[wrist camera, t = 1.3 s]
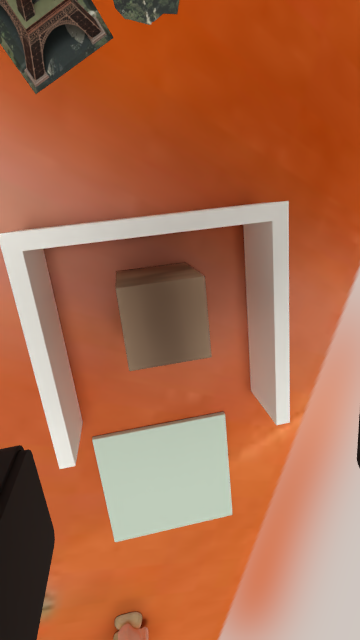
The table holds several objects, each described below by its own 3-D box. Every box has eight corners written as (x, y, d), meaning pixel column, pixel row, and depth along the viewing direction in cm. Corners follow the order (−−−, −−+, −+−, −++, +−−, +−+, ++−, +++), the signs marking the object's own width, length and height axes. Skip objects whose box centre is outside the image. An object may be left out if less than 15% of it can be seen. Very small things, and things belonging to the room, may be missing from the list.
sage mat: (223, 411, 29) (224, 414, 29) (231, 511, 33) (232, 514, 32) (92, 436, 28) (92, 439, 27) (115, 538, 31) (114, 542, 31)
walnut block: (185, 262, 25) (204, 276, 19) (191, 326, 26) (211, 357, 21) (116, 271, 24) (115, 288, 19) (126, 336, 26) (129, 371, 20)
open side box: (255, 203, 24) (288, 201, 20) (262, 388, 29) (289, 422, 24) (22, 229, 22) (-3, 233, 18) (69, 424, 27) (59, 469, 22)
